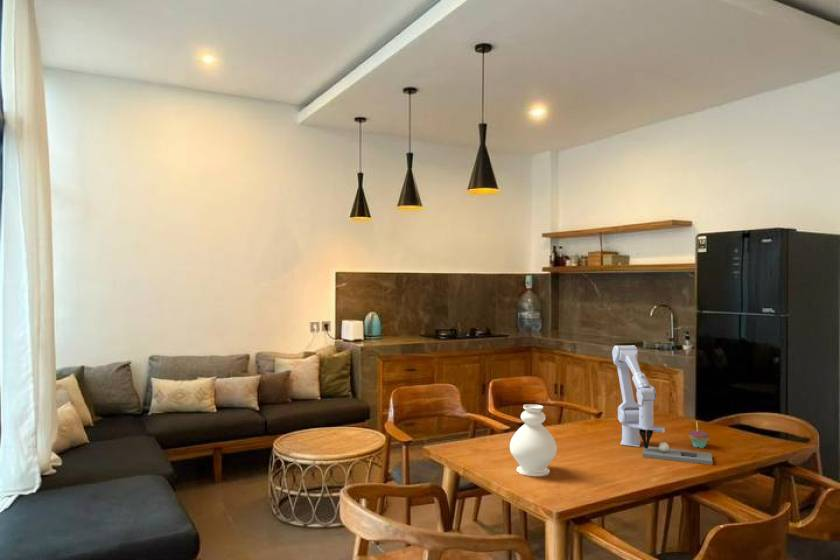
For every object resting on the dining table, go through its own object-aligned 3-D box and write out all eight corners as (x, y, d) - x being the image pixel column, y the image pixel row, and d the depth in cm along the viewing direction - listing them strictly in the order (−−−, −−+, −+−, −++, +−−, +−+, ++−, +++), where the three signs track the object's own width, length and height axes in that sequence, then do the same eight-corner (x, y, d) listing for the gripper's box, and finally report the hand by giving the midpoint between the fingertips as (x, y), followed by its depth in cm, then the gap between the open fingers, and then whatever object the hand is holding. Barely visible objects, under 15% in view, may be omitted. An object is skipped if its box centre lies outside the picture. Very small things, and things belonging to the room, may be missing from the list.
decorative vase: (565, 471, 226) (565, 406, 226) (539, 482, 214) (539, 413, 214) (527, 460, 239) (527, 399, 239) (500, 470, 227) (500, 406, 226)
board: (644, 449, 255) (644, 445, 255) (710, 456, 245) (710, 452, 245) (642, 457, 244) (642, 453, 244) (712, 464, 234) (712, 461, 234)
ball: (658, 450, 249) (658, 440, 249) (669, 451, 247) (669, 441, 247) (658, 452, 245) (658, 443, 245) (669, 453, 244) (669, 444, 244)
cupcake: (703, 450, 253) (703, 422, 253) (684, 445, 260) (684, 418, 260) (713, 446, 259) (713, 419, 258) (694, 442, 265) (694, 416, 265)
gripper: (627, 416, 248) (627, 448, 248) (664, 419, 242) (664, 452, 242) (628, 412, 255) (628, 443, 255) (664, 415, 249) (664, 447, 249)
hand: (646, 447), depth 249 cm, fingers closed
